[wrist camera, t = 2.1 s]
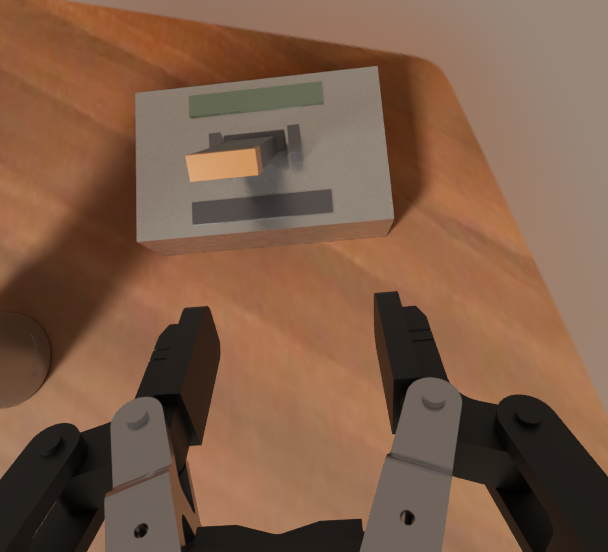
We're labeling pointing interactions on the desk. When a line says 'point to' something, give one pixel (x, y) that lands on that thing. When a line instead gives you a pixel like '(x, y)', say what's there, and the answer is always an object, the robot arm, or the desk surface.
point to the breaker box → (276, 174)
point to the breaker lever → (237, 156)
